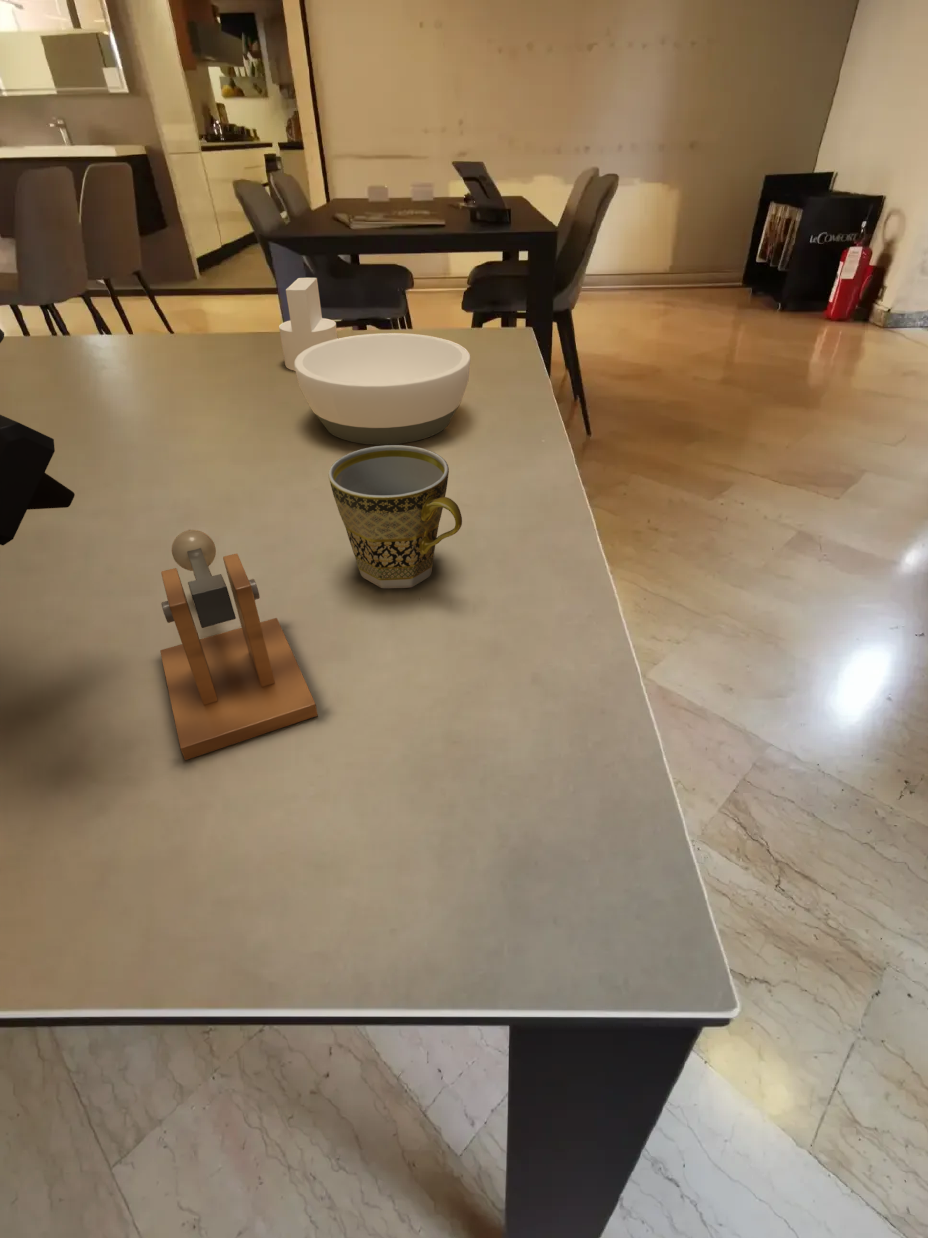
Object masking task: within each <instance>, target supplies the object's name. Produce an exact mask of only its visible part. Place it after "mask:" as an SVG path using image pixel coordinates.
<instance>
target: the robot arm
mask: <svg viewBox="0 0 928 1238" xmlns="http://www.w3.org/2000/svg"><path fill="white" fill-rule="evenodd" d="M4 339H5V332H4V331H3V330H2V329H1V328H0V344H1V343H2V342H3V340H4ZM55 449H56V448H55V439H54V438H52V437H50V436H48V435H46V434H44V433H42V432H40V431H38V430H35V429H33V428H31V427H29V426H27V425H26V424H22V423H21V422H18V421H16V420H14V419H12V418H10V417H7V416H5V415H2V414H0V546H5V545H7V544H8V543H10V542H11V541H13V540H14V538H15V536H16V534H17V532H18V530H19V527H20V525H21V523H22V521H23V519H24V517H25V515H26V513H27V511H29V510H43V509H44V510H45V509H47V510H48V509H49V510H50V509H61V508H62V509H65V508H69V507H70V506H71V505H72V503H73V500H74V499H75V497H76V495H75V492H74V491H73V490H71V489H70V488H68V487H67V486H66V485H64V484H63V483H61V482H59V481H58V480H57V479H55V478H54V477H52V476H51V475H49V474H48V473H46V470H47V468H48V467H49V465H50V463H51V460H52V458H53V456H54V454H55V451H56V450H55Z"/></svg>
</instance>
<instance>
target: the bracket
mask: <svg viewBox="0 0 928 1238" xmlns="http://www.w3.org/2000/svg"><path fill="white" fill-rule="evenodd" d="M222 559H223V564H224V567H225V571H226V574H227V578H228V582H229V585H230V589H231V593H232V597H233V600H234V603H235V604H234V605H235V608H236V611H237V616H238V619H239V623H240V627H238V628H235V629H231V630H228V631H227V630H226V631H224V632H221V633H217V634H213V635H209V636H206V637H203V638H200V635H199V633H198V630H197V626H196V624H195V620H194V618H193V614H192V611H191V608H190V605H189V602H188V599H187V596H186V593H185V589H184V587H183V584H182V580H181V577H180V574H179V571H178V568H176V567H174V568H173V567H172V568H170V569H169V568H168V569H165V570H161V571H160V574H161V577H162V578H161V579H162V582H163V586H164V587H163V588H164V591H165V595H166V598H167V600H165V601H161V602H160V603H161V604H160V605H161V608H162V612H163V615H164V618H165V621H166V623H174V624H175V627H176V630H177V633H178V636H179V639H180V642H181V644H177V645H174V646H171V647H167V648H163V649H160V651H159V652H160V658H161V661H162V667H163V672H164V676H165V680H166V686H167V690H168V696H169V700H170V705H171V709H172V714H173V719H174V723H175V728H176V729H175V730H176V734H177V738H178V739H177V740H178V743H179V748H180V751H181V753H182V756H183V758H184V760H185V761H187V760H190V759H193V758H196V757H199V756H202V755H205V754H208V753H211V752H214V751H217V750H221V749H223V748H226V747H229V746H232V745H235V744H238V743H241V742H243V741H247V740H249V739H252V738H253V739H254V738H255V737H259V736H262V735H265V734H268V733H271V732H274V731H276V730H277V731H278V730H279V729H282V728H285V727H288V726H291V725H294V724H297V723H300V722H303V721H306V720H310V719H312V718H314V717H317V716H318V714H319V713H318V709H317V704H316V701H315V700H314V698H313V695H312V693H311V691H310V688H309V686H308V684H307V682H306V679H305V677H304V676H303V673H302V671H301V668H300V666H299V664H298V662H297V659H296V657H295V655H294V652H293V651H292V649H291V646H290V644H289V642H288V640H287V637H286V635H285V633H284V630H283V628H282V626H281V624H280V622H279V620H278V618H277V617H275V618H271V619H268V620H263V621H261V620H260V616H259V612H258V607H257V604H256V600H259V599H260V598H261V596H260V592H259V589H258V585H257V582H256V580H255V579H254V578H252V579H249V577H248V575H247V573H246V571H245V568H244V566H243V563H242V561H241V558H240V556H239V554H238V553H232V554H228V555H225V556H223V557H222Z"/></svg>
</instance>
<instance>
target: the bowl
mask: <svg viewBox="0 0 928 1238" xmlns="http://www.w3.org/2000/svg"><path fill="white" fill-rule="evenodd" d="M470 366H471V354H470V352H469V351H468V349H466V348H465V347H464V346H462V344H459V343H457V342H454V341H452V340H449V339H445V338H441V337H438V336H432V335H426V334H419V333H401V332H391V333H390V332H381V333H380V332H379V333H365V334H357V335H350V336H349V335H348V336H344V337H338V339H334V340H330V341H326V342H323V343H320V344H317V345H314V346H312V347H310V348H308V349H306V350H304V351H303V352H302V353H300V354H299V355H298V356H297V358H296V359H295V362H294V367H295V371H294V372H295V375H296V379H297V383H298V386H299V389H300V391H301V393H302V395H303V397H304V399H305V401H306V402H307V404H308V406H309V408H310V409H311V410H312V412H313V414H315V416H316V417H317V418H318V419H319V421H320V422H321V424H322V425H323V426H324V427H325V429H326V430H327V432H328V433H330V434H331V435H332V436H334V437H335V438H339V439H341V440H343V441H347V442H350V443H357V444H363V445H374V446H385V445H402V444H406V443H412V442H417V441H421V440H424V439H428V438H430V437H432V436H435V435H437V434H439V433H440V432H442V431H444V430H445V429H446V428H447V427H448V426H449V424H450V423H451V420H452V418H453V416H454V415H455V413H456V411H457V410H458V407H459V406H460V404H461V402H462V400H463V397H464V395H465V392H466V389H467V386H468V383H469V379H470V369H471V368H470Z"/></svg>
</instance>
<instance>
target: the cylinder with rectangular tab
mask: <svg viewBox="0 0 928 1238" xmlns="http://www.w3.org/2000/svg"><path fill="white" fill-rule="evenodd" d="M285 295H286V300H287V307H288V314H289V320H286V321H283V322H282V323H280V324H279V325H278V329H279V335H280V343H281V349H282V354H283V359H284V365H285V367H286V368H287V369H288V370H291V371H294V372H296V371H295V367H294V362H295V359H296V358H297V356H298V355H299V354H300V353H302V352H303V351H304V350H306V349H308V348H310V347H312V346H314V345H317V344H320V343H323V342H326V341H330V340H334V339H338V338H339V337H338V336H339V335H338V330H337V322H336V321H335V320H332V319H330V318H325V317H323V314H322V307H321V299H320V292H319V283H318V277H298V278H296V280H294V281H293V282H292V283H291V284H290V285H289V286H288V287H287V288H286V289H285Z"/></svg>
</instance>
